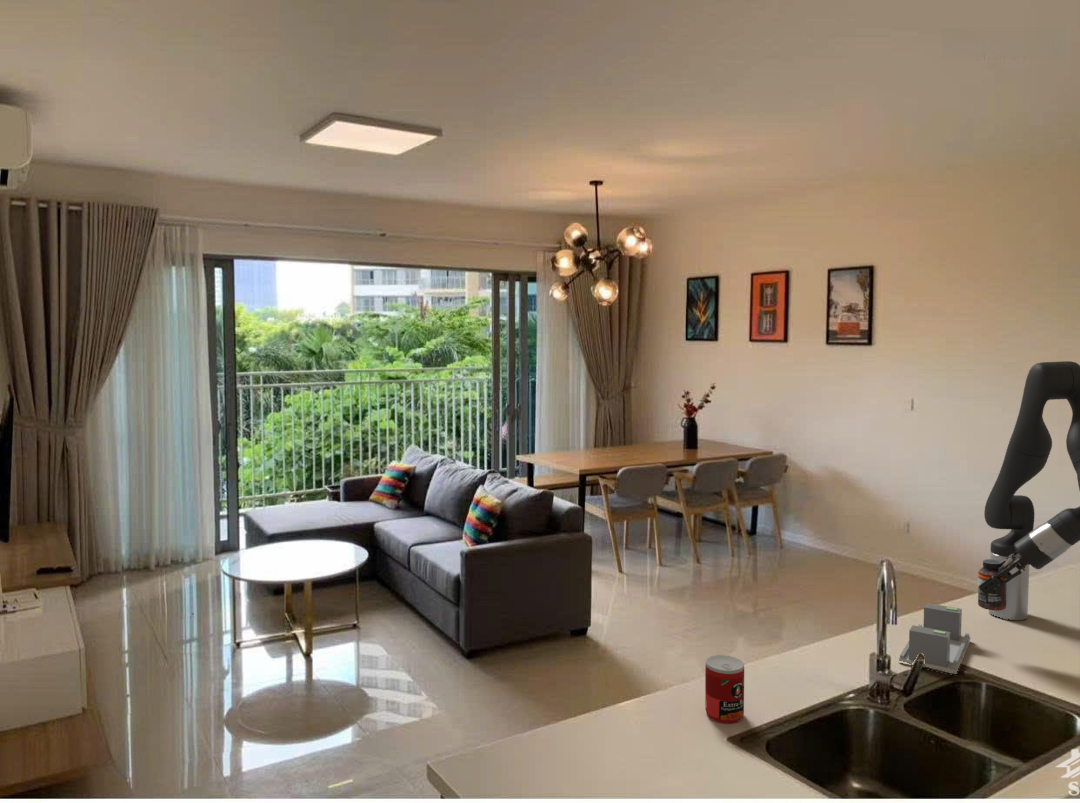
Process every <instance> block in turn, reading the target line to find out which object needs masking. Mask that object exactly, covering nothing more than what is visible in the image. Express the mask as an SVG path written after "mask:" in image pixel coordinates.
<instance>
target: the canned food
mask: <svg viewBox="0 0 1080 803" xmlns="http://www.w3.org/2000/svg"><path fill="white" fill-rule="evenodd" d="M704 672H705V674H704V675H705V677H704V678H705V679H704V681H705V682H704V684H705V687H704V689H705V691H704V692H705V694H704V695H705V697H704V698H705V703H704V705H705V706H704V707H705V713H706V715H707V717H708V718H709V719H711V720H712V721H715V722H718V723H720V724H721V723H722V724H735V723H739V722H740V721H742V719H743V717H744V714H745V663H744V662H743V660H741V659H740V658H737V657H735V656H730V655H724V654H721V655H720V654H717V655H712V656H710V657H709V656H708V657H707V658H706V659H705V670H704Z"/></svg>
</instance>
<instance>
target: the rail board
mask: <svg viewBox="0 0 1080 803" xmlns="http://www.w3.org/2000/svg"><path fill="white" fill-rule="evenodd" d="M962 609H963V608H959V607H954V606H953V607H952V606H947V605H941V604H936V603H935V604H934V603H928V602H926V603H925V605H924V607H923V624H918V625H914V624H913V625H911V627H910V628H909V634H908V635H909V636H908V639H909V640H908V642H907V643H906V645H905V646H904V648H903V649H902V651H901V653H900V654H899V657H898V662H899V661H903V662H907V663H909V664H911V665H912V663H913V662H914V660H915V659H916V657H917V655H918V654H919V653H923V654H924V656H925V666H926V667H929V668H933V669H938V670H942V671H945V672H949V673H954V674H958V672H959V670H958V668H959V669H960V667H961V665H962V663H963V659H964V658H965V655H966V653H967V650H968V649H969V646H970V643H971V637H970V633H968V632H966V633H965V634H964V635H962V618H963V616H962V615H963V614H962V613H963V612H962V611H963V610H962ZM963 657H964V658H963ZM961 662H962V663H961ZM960 664H961V665H960ZM959 666H960V667H959ZM957 671H958V672H957Z"/></svg>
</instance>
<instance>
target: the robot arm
mask: <svg viewBox="0 0 1080 803" xmlns="http://www.w3.org/2000/svg"><path fill="white" fill-rule="evenodd" d="M1024 384H1025V385H1024V388H1023V393H1022V398H1021V403H1020V408H1019V411H1018V415H1017V418H1016V420H1015V421H1016V422H1015V425H1014V428H1013V431H1012V433H1011V437H1010V438H1009V442H1008V445H1007V448H1006V450H1005V454H1004V458H1003V462H1002V464H1001V468H1000V470H999V473H998V474H997V478H996V480H995V482H994V484H993V487H992V488H991V491H990V492H989V494H988V498H987V500H986V502H985V506H984V520H985V522H986V525H987V526H988V527H990V528H993V529H995V530H997V529H998V530H1010V531H1009V532H1008V533H1007V534H1006V535H1004V536H1001V537H999V538H996V539H993V540H992V541H991V543H990V558H989V559H993V560H998V561H1001V562H1002V566H1000V567H999V568H998V569H997V571H998V572H997V573H995V574H994V575H992V577H991V578H989V579H988V580H986V581H985V582H983V583H982V584H981V585H979V589H980V590H981V591H982V592H983V593H985V594H986V593H988V592H989V591H991V590H992V589H994V588H995V587H997V586H998V585H999V586H1003V585H1004V584H1005V583H1007V586H1006V608H1005V609H1004V610H998V611H995V610H988V611H989V612H988V613H989V614H990V615H991V614H992V615H991V616H993V615H994V617H995V616H997V617H996V618H998V617H1000V618H999V619H1002V618H1003V619H1002V620H1008V619H1009V621H1024V619H1025V620H1027V619H1028V612H1029V611H1028V610H1029V586H1030V585H1029V584H1030V582H1029V581H1030V566H1031V567H1032V568H1034V569H1035V570H1042V569H1043V568H1044V567H1045V566H1047V565H1049V564H1050V563H1051V562H1053V561H1054V560H1056V559H1057V558H1059V557H1060V556H1062V555H1063V554H1065V553H1066V552H1067V551H1068V550H1069V549H1070V548H1071V547H1073V546H1074V545H1076V543H1078V542H1080V506H1078V507H1075V508H1073V507H1072V508H1069V507H1068V508H1066V509H1063V510H1061V511H1060V512H1058V513H1057V514H1056V515H1053V517H1051V518H1050V519H1049V520H1047V521H1046V522H1044V523H1042V524H1040V525H1038V526H1037V527H1034V526H1035V506H1034V503H1033V502H1032V501H1033V500H1031V498H1029V497H1028V496H1027V495H1023V494H1022V495H1021V494H1020V495H1017V494H1016V493H1017V491H1018V490H1019V489H1020V488H1022V487H1023V486H1024V485H1025V484H1026V483H1028V482H1029V481H1031V480H1032V479H1033V478H1034V477H1036V476H1037V475H1038V474H1040V472H1041V471H1042V470H1043V469H1044V468H1045V466H1046V464H1047V462H1048V459H1049V457H1050V454H1051V451H1052V448H1053V438H1052V436H1051V434H1050V431H1049V429H1048V426H1047V425H1046V424H1045V421H1044V418H1043V415H1044V409H1045V406H1046V404H1047V402H1048V401H1050V400H1067V402H1068V404H1069V405H1070V408H1071V411H1072V414H1071V415H1072V416H1071V422H1070V425H1069V428H1068V431H1067V434H1066V440H1065V443H1066V444H1065V445H1066V451H1067V454H1068V456H1069V459H1070V462H1071V464H1072V466H1073V469H1074V471H1075V473H1076V476H1077V478H1076V479H1077V485H1078V489H1079V491H1080V364H1079V363H1077V362H1075V361H1071V360H1070V361H1068V360H1067V361H1064V360H1063V361H1061V360H1060V361H1046V362H1045V361H1043V362H1038V363H1037V362H1036V363H1035V364H1033V365H1032V367H1031V368H1030V369H1029V370H1028V373H1027V376H1026V378H1025V383H1024ZM1015 494H1016V495H1015ZM1000 575H1003V576H1004V579H1003V580H1001V579H1000V578H999V576H1000Z"/></svg>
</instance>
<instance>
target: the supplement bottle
mask: <svg viewBox="0 0 1080 803" xmlns="http://www.w3.org/2000/svg"><path fill="white" fill-rule="evenodd" d="M1000 566H1002V562H1001V561H998V560H993V559H990V558H989V559H983V560H982V567H981V568H979V569H978V572H977V573H978V576H977V577H978V578H977V583H978V584H977V604H978V606H979V607H980V608H982V609H984V610H988V611H989V610H995V611H998V610H1004V609H1005V608H1006V586H1007V583H1005V584H1004V585H1003V586H999V585H998V586H997V587H995V588H994V589H992V590H991V591H989V592H988V593H986V594H985V593H983V592H982V591H981V590H980V589H979V585H981V584H982V583H983V582H985V581H986V580H988V579H989V578H991V577H992V575H994V574H995V573H997V572H998V571H997V569H998V568H999V567H1000ZM999 578H1000V579H1001V580H1003V579H1004V576H1003V575H1000V576H999Z"/></svg>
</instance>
